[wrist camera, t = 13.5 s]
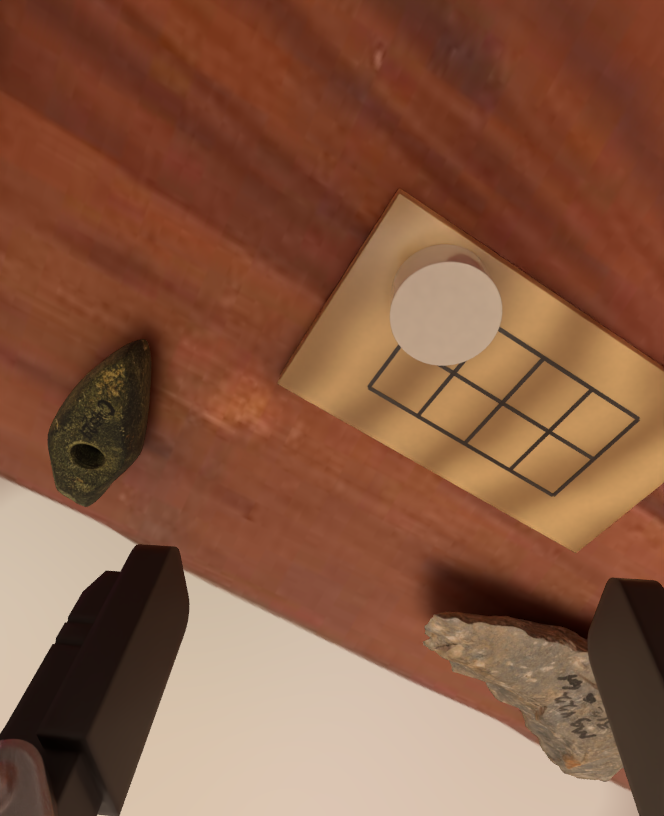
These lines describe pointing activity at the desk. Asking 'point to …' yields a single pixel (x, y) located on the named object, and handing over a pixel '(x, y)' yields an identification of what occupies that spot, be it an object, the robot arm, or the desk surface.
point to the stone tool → (535, 684)
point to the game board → (492, 390)
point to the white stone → (444, 305)
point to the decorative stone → (102, 424)
